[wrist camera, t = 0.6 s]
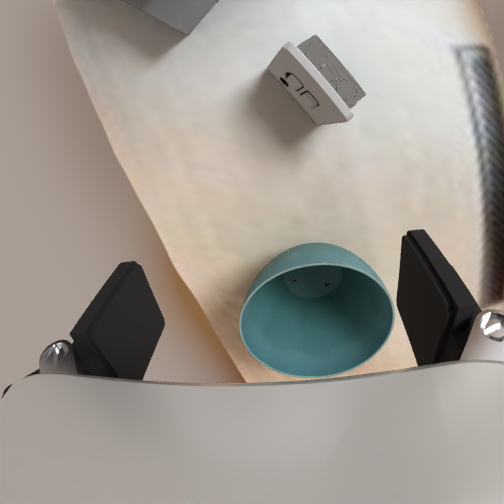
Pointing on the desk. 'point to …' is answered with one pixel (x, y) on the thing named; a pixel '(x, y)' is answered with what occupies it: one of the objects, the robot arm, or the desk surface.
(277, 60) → the electrical switch
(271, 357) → the plant pot
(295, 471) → the robot arm
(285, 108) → the desk surface
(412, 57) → the desk surface
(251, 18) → the desk surface
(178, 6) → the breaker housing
